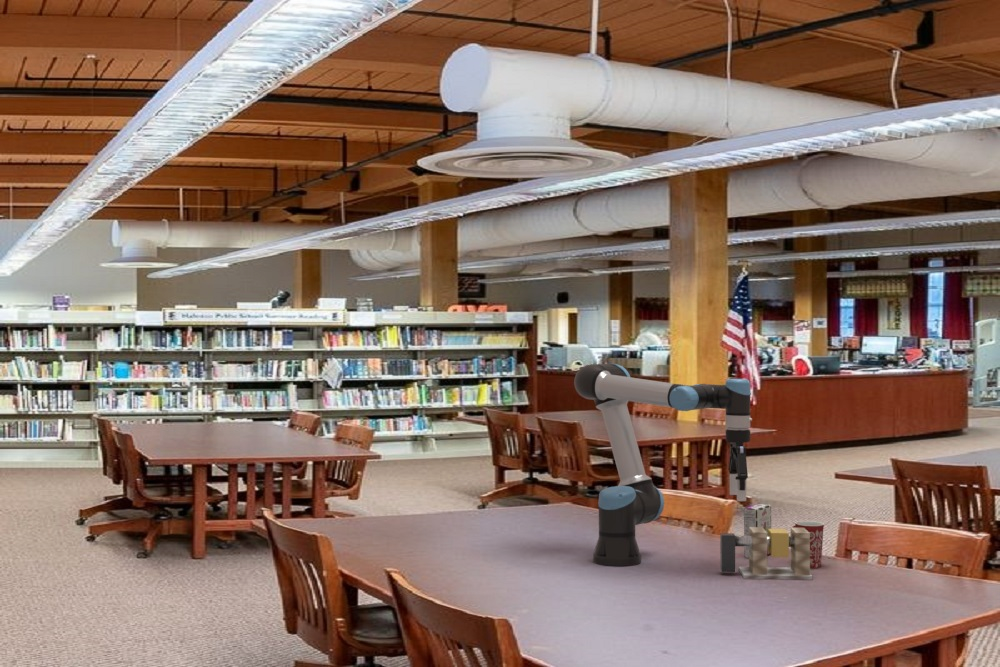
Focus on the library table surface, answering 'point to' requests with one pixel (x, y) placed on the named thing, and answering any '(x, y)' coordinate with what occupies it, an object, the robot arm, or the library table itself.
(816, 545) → the mug
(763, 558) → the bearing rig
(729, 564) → the shaft
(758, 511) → the candy bar box
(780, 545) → the spacer
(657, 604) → the library table surface
